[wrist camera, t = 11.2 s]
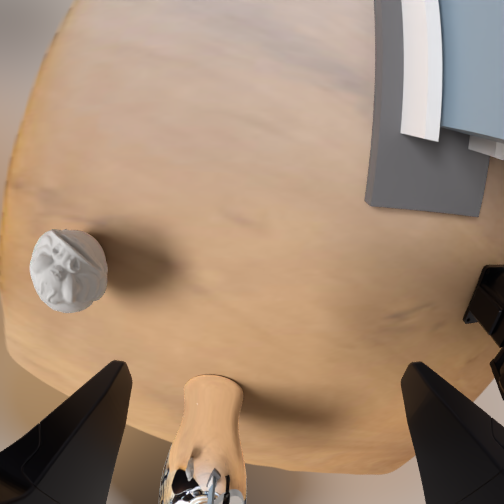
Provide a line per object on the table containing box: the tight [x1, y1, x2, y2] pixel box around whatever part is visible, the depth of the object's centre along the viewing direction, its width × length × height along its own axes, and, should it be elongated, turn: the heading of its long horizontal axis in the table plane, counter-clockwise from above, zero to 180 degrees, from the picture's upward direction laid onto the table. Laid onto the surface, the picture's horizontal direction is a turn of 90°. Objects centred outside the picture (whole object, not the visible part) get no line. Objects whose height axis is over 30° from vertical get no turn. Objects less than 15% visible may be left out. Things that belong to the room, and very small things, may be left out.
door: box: [438, 0, 504, 144], centre depth 8 cm, size 4×14×10 cm, turn 179°
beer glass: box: [159, 375, 247, 504], centre depth 21 cm, size 7×7×15 cm
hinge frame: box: [365, 0, 504, 217], centre depth 12 cm, size 10×26×4 cm, turn 179°
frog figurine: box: [30, 229, 108, 313], centre depth 18 cm, size 6×7×7 cm
